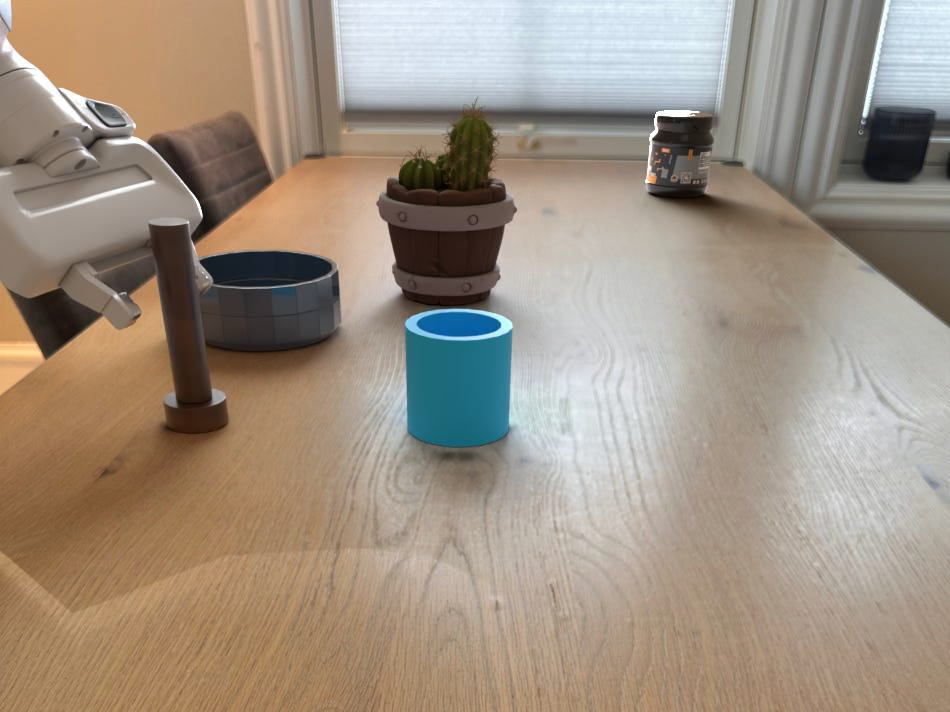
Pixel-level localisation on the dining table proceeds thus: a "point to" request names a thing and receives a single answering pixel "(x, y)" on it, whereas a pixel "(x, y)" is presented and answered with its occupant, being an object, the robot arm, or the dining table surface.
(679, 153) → the supplement container
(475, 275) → the flowerpot
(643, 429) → the dining table surface
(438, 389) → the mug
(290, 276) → the bowl
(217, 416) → the stick
